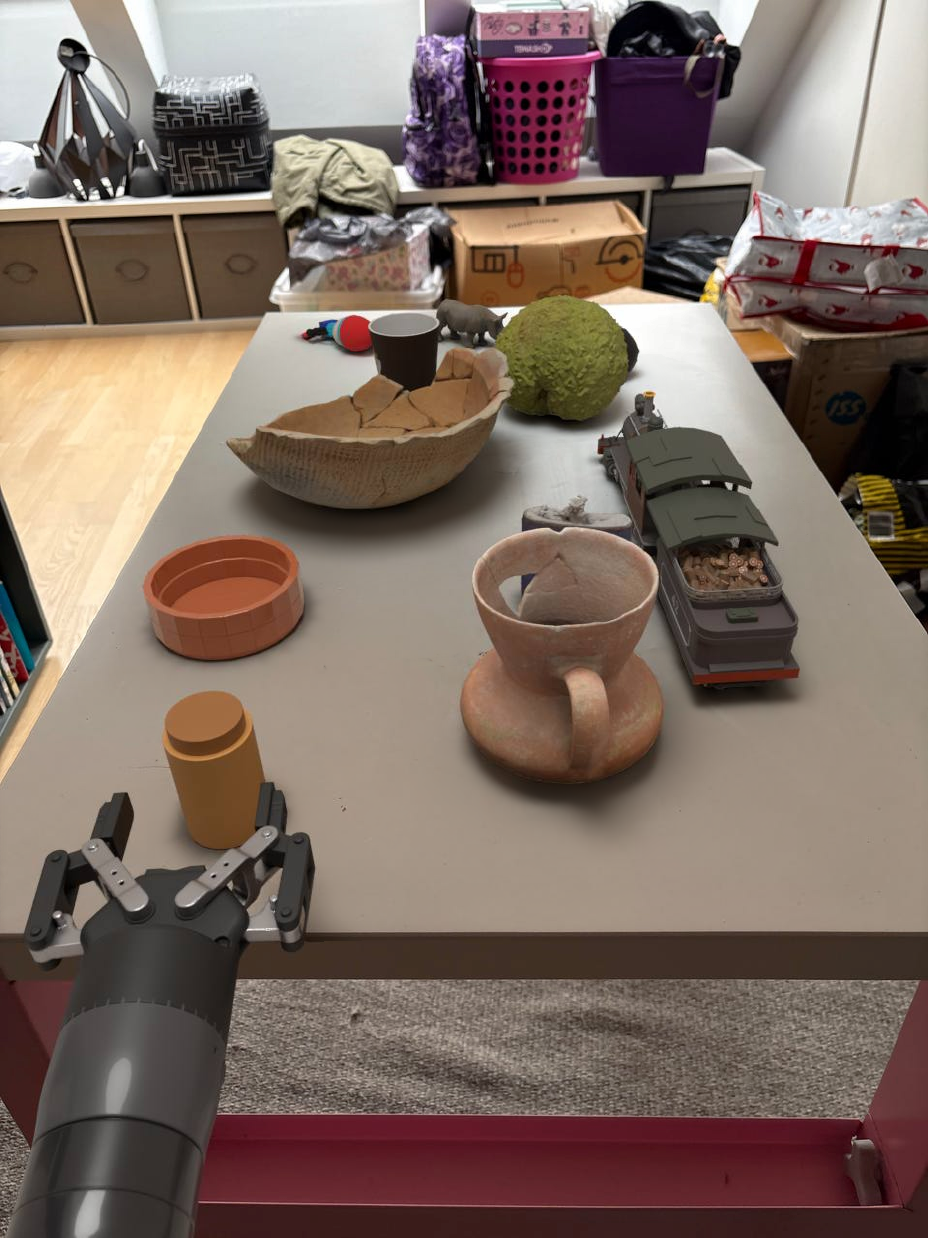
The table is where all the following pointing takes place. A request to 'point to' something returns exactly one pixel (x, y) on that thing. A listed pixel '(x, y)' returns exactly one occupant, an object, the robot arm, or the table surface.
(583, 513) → the flask
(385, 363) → the coffee mug
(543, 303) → the fruit
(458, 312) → the rhino figurine
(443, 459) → the ceramic bowl
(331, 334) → the toy figure
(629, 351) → the figurine
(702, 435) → the toy train
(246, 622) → the terracotta bowl
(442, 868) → the table surface
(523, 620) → the ceramic jug
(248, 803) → the orange lidded canister
